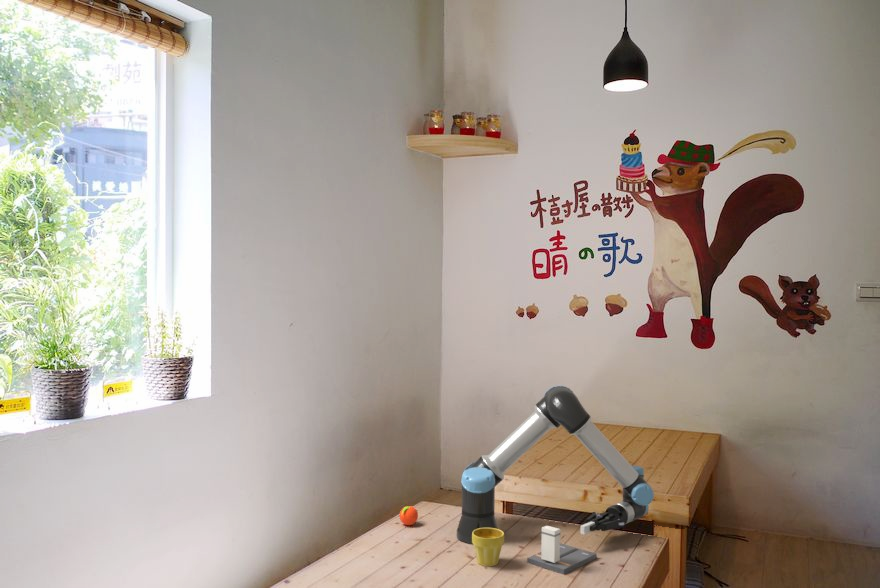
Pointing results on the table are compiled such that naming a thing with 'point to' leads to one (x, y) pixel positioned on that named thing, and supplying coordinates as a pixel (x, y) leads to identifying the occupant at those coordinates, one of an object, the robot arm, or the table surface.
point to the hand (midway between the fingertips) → (582, 530)
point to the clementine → (408, 515)
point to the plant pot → (488, 545)
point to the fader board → (564, 559)
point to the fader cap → (550, 544)
